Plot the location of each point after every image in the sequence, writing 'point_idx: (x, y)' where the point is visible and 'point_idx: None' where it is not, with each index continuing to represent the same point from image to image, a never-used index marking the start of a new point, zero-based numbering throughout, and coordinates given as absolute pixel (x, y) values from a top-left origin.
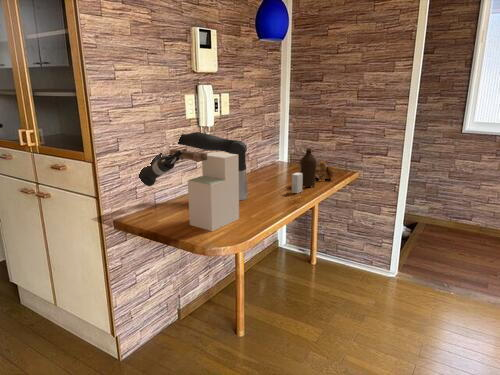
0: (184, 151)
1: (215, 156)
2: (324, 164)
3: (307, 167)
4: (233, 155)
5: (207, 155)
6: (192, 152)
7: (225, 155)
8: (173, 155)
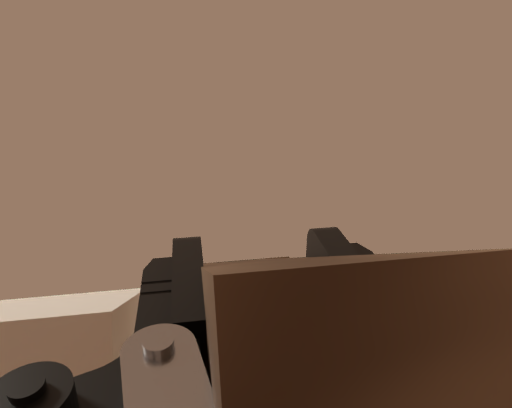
0: (253, 261)
1: (132, 294)
2: None
3: None
4: (43, 297)
5: (123, 302)
6: (226, 262)
7: (63, 298)
8: None
